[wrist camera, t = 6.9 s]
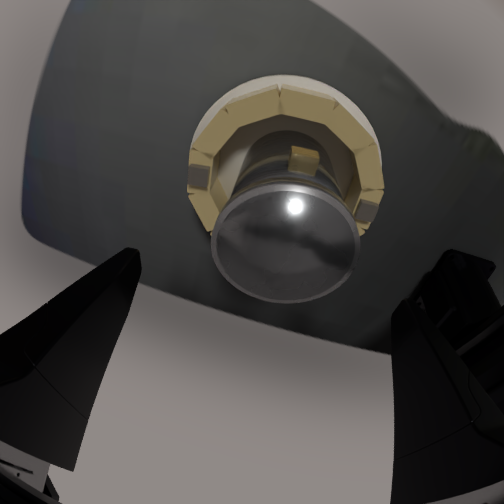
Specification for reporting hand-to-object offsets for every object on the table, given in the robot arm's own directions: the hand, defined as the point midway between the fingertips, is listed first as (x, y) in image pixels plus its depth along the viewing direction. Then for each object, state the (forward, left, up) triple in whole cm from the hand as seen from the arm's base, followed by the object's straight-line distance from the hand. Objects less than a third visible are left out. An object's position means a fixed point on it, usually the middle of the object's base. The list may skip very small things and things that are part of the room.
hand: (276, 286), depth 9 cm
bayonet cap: (0, 0, -9) cm, 9 cm away
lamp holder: (0, 0, -10) cm, 10 cm away
